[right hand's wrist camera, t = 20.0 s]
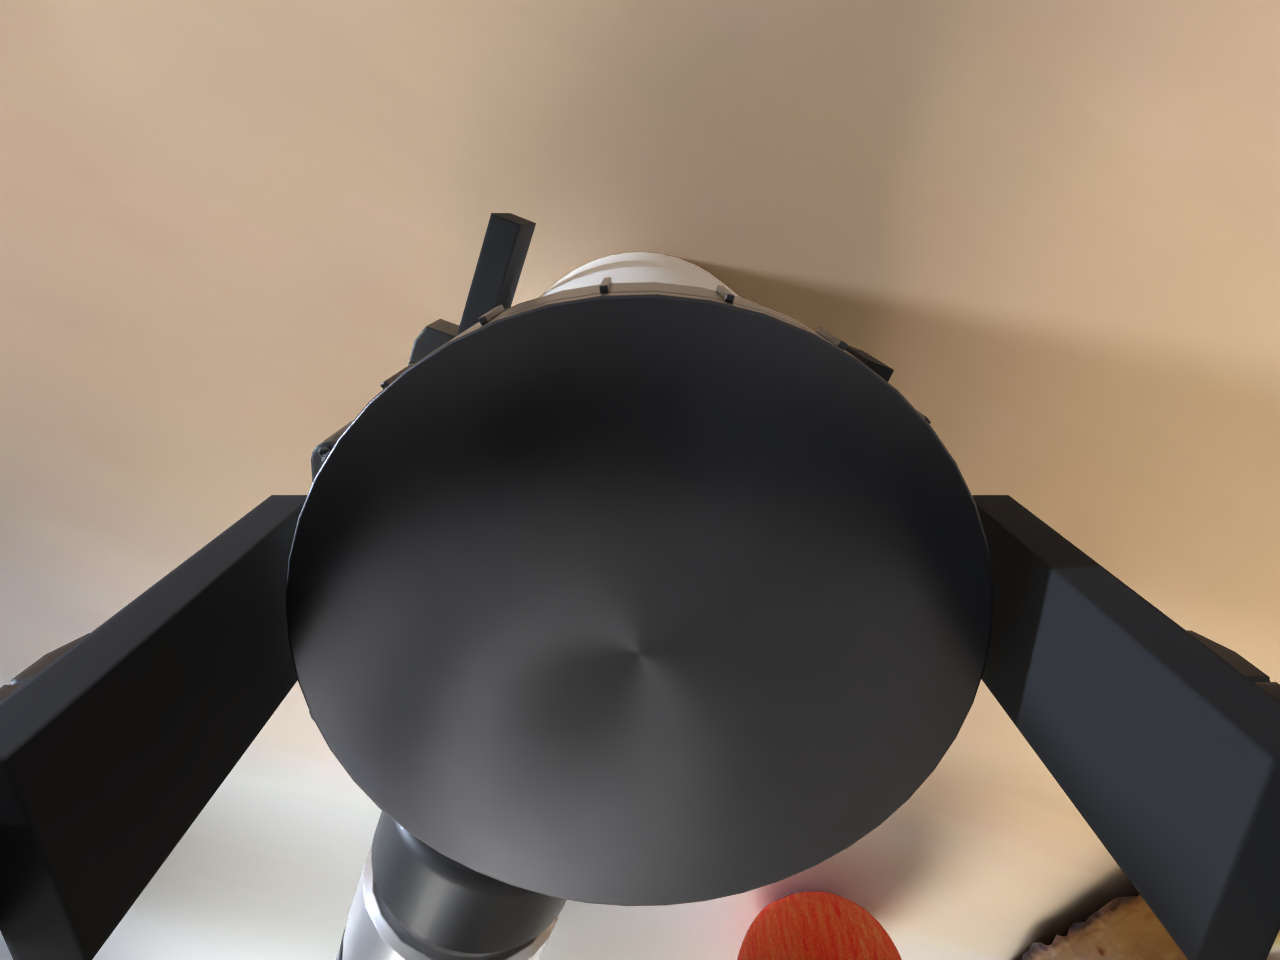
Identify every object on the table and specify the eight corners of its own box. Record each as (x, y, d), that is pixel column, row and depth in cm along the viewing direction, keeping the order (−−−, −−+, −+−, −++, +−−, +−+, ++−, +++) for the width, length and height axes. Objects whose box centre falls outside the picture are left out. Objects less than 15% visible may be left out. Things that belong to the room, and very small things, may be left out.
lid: (591, 116, 9) (581, 95, 8) (1074, 559, 12) (1145, 616, 10) (220, 625, 12) (154, 690, 11) (671, 903, 15) (674, 991, 13)
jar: (535, 510, 29) (407, 870, 13) (493, 267, 25) (254, 352, 10) (770, 488, 28) (933, 830, 13) (759, 238, 25) (963, 277, 9)
